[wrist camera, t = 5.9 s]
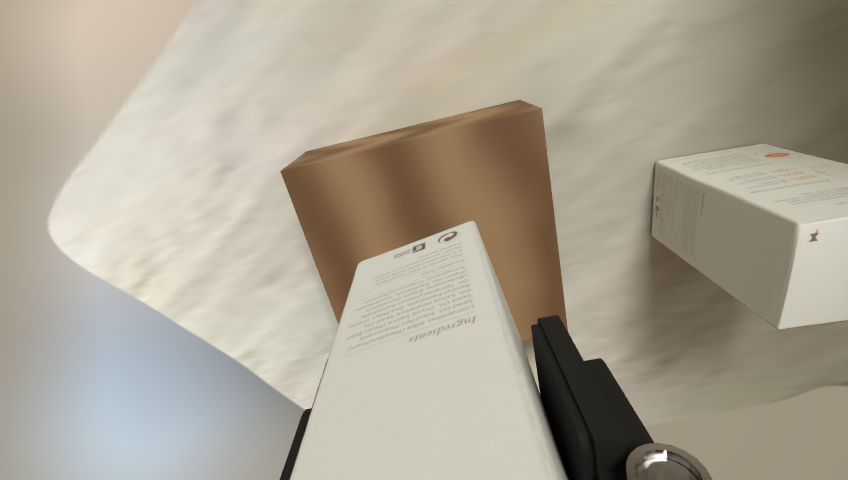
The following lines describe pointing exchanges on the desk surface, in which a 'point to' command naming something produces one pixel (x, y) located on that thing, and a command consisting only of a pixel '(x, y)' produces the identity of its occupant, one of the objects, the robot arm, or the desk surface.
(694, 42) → the desk surface
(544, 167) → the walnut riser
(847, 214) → the small box
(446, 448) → the skincare box
